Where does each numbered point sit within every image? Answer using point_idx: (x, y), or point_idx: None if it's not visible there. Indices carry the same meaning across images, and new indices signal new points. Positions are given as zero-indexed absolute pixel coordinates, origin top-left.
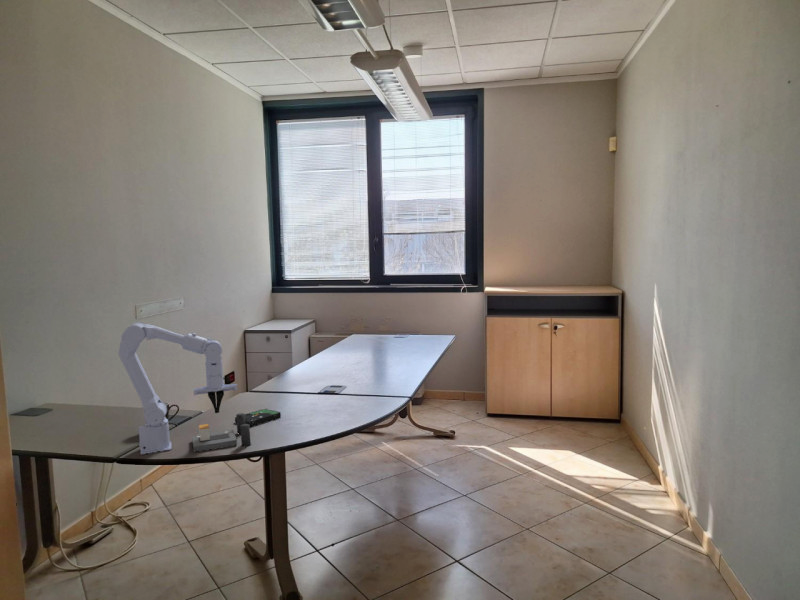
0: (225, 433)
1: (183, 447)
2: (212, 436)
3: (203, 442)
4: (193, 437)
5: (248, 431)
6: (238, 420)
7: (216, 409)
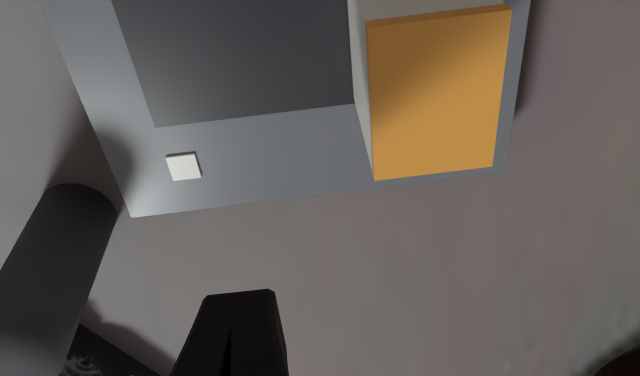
0: (188, 138)
1: (592, 10)
2: (317, 85)
3: None
4: (502, 126)
5: None
6: (44, 285)
7: (238, 339)
